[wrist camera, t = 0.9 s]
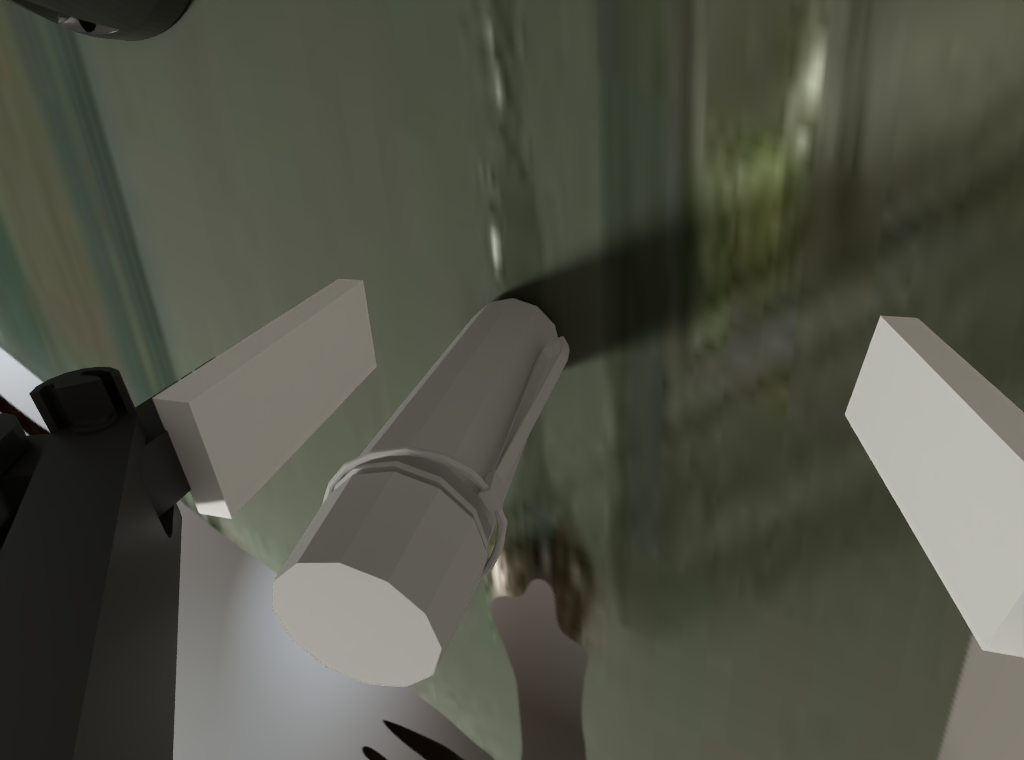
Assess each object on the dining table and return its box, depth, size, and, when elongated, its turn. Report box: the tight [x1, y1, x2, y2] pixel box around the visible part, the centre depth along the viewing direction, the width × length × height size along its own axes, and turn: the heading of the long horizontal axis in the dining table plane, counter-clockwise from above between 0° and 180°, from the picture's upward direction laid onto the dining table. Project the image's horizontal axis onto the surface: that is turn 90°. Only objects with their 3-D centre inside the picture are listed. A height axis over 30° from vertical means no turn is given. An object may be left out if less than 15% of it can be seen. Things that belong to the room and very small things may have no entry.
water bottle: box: [273, 298, 570, 687], centre depth 29 cm, size 9×8×25 cm
